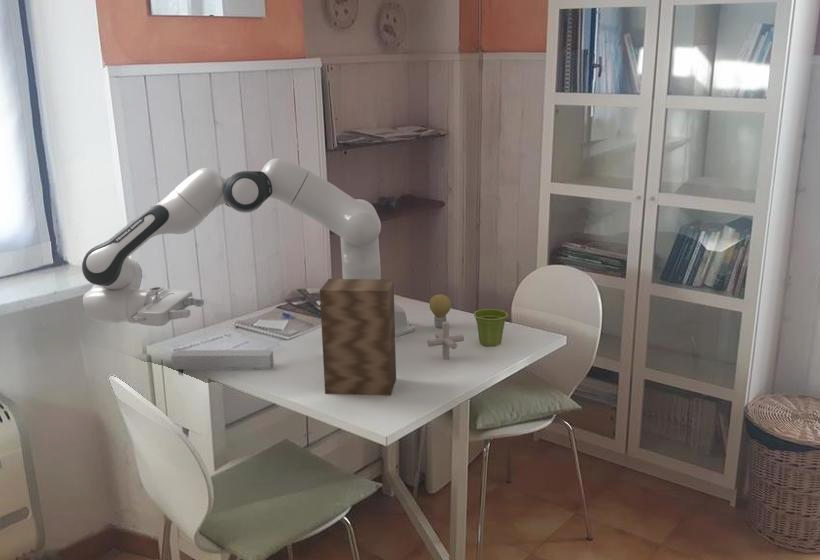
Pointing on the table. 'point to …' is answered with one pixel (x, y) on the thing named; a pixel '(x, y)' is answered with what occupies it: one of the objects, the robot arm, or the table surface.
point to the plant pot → (490, 326)
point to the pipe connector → (445, 340)
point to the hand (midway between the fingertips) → (196, 308)
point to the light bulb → (440, 308)
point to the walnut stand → (358, 336)
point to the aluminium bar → (222, 359)
